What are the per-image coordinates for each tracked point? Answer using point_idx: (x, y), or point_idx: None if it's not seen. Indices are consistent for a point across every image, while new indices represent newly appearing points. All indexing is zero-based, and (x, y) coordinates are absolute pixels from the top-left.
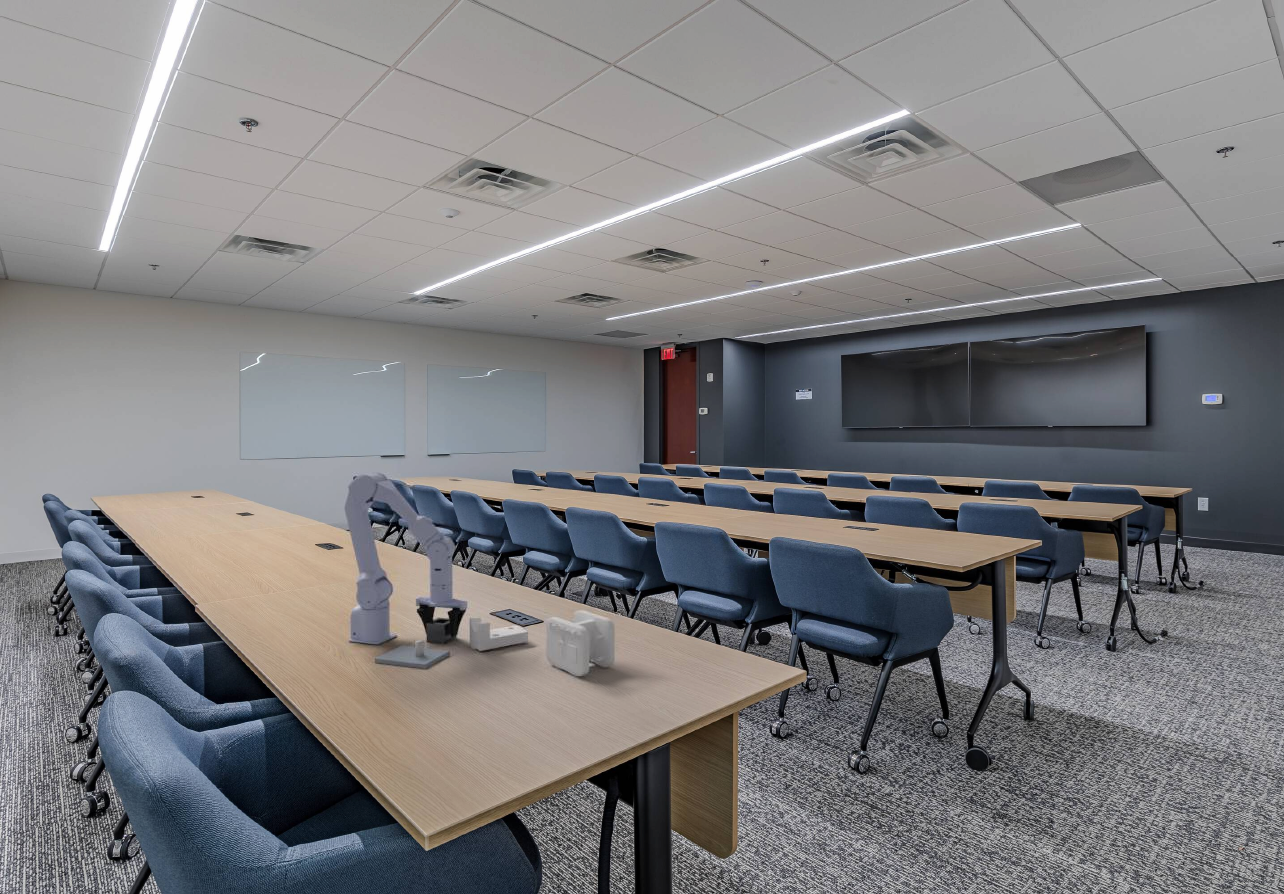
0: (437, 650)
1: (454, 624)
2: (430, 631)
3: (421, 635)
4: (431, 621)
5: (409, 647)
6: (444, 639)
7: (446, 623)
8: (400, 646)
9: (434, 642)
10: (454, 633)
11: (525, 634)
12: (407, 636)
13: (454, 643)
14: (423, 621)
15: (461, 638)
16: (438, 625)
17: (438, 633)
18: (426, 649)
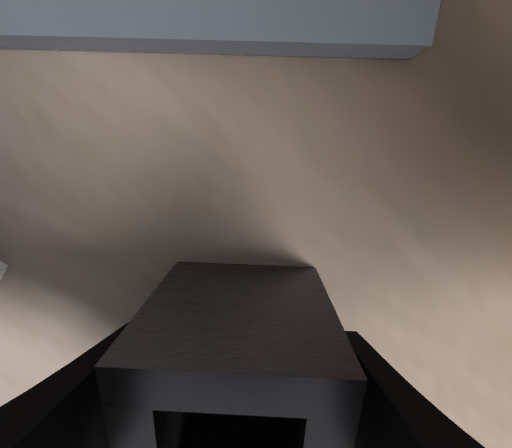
0: (37, 16)
1: (11, 404)
2: (291, 310)
3: (411, 362)
4: (335, 437)
5: (330, 17)
6: (167, 275)
7: (115, 412)
8: (431, 19)
9: (253, 265)
10: None
11: None
12: (494, 330)
13: (127, 284)
14: (437, 422)
15: None
16: (189, 358)
17: (209, 300)
18: (147, 13)
